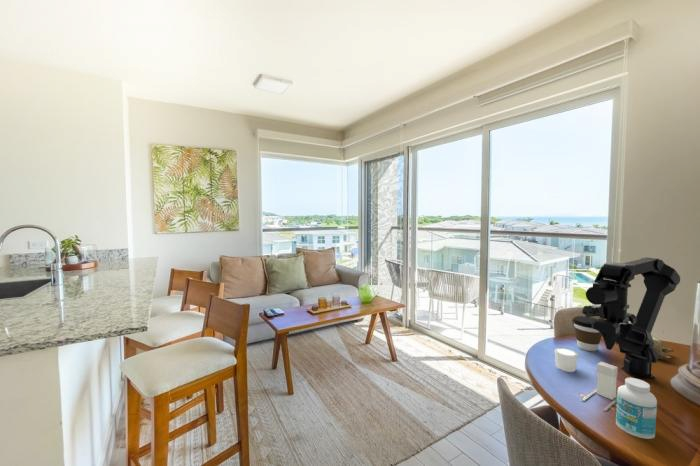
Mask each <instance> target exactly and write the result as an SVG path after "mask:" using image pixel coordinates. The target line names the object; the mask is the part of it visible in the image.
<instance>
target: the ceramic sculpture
mask: <svg viewBox="0 0 700 466" xmlns="http://www.w3.org/2000/svg"><path fill="white" fill-rule="evenodd" d="M652 338H653V341H654V346H653V347H654V349H655V350H656V351H657V353H658V354H659V357H658V359H661V360H674V359H675V358H674V357H672V356H669V355H668V353H672V352H675V350H674V349H669V348H666V347H664V346H663V343H662V342H661V341H660V339H659V338H656V336H654V337H653V336H652Z"/></svg>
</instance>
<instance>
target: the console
mask: <svg viewBox="0 0 700 466" xmlns="http://www.w3.org/2000/svg"><path fill="white" fill-rule="evenodd" d="M595 394H597V388H595V389H594V390H593V391H591V392H590V393H589V394H587V395H584V394H582V393H581V394H579V396H581V397H583V398H582V399H581V401H582V402H586V401H587V400H589V398H591V397H593V396H594V395H595ZM613 406H617V397H616V398H614V399H613V400H612V401H611V402H610V403H608V404H607V405H606V406H605V407H604V408H603V409H602V410H603V411H604V412H607V411H608V410H609V409H611V410H613V411H616V410H617V408H615V407H613Z"/></svg>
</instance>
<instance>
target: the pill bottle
mask: <svg viewBox="0 0 700 466" xmlns="http://www.w3.org/2000/svg"><path fill="white" fill-rule="evenodd" d="M650 391H651V385H650V384H649V383H648V382H646V381H644V380H642V379H640V378H636V377H626V378H625V379H624V384H623V385H620V386H618V388H617V391H616V398H617V402H616V404H617V405H616V409H617V410H616V412H615V413H616V414H615V415H616V416H615V424H616V426H617V427H618V428H619V429H621V430H622V431H623V432H625V433H627V434H628V435H631V436H633V437H636V438H641V439H647V440H650V439H654V438H655V437H656V429H657V428H656V426H657V424H656V423H657V412H658V411H657V410H658V408H657V407H658V400H657V398H656V396H655V394H653V393H652V392H650Z"/></svg>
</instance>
